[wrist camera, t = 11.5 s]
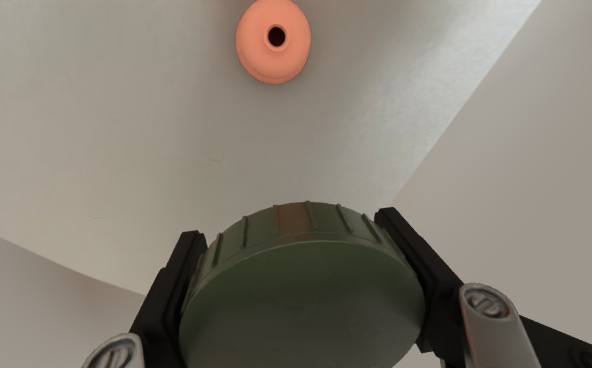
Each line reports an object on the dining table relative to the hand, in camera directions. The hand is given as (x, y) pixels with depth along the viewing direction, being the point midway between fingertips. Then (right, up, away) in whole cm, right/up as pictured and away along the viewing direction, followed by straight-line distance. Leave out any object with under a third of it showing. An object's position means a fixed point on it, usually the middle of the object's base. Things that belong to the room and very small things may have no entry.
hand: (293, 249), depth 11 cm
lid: (0, -2, -3) cm, 4 cm away
